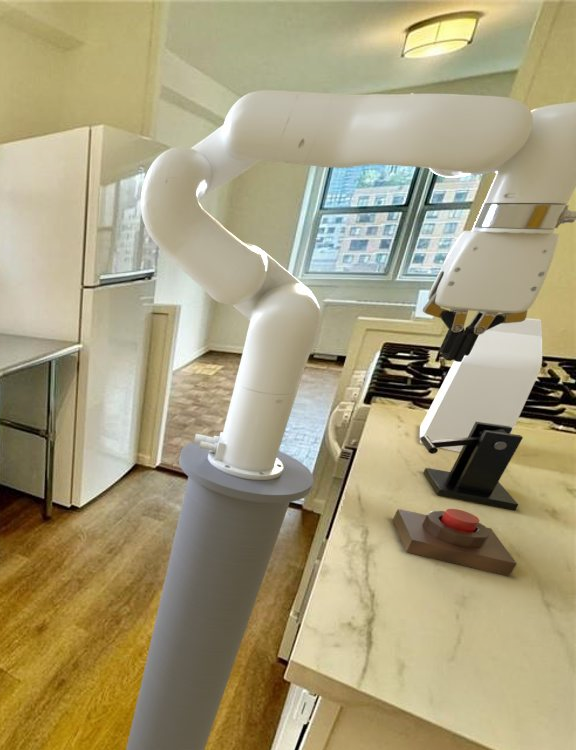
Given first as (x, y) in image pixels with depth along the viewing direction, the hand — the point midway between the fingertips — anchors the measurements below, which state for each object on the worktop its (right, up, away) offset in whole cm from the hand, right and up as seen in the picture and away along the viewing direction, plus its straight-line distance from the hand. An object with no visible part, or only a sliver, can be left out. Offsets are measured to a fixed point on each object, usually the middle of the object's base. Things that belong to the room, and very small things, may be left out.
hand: (450, 358), depth 70 cm
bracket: (+16, -21, +14) cm, 30 cm away
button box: (-1, -27, 0) cm, 28 cm away
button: (-1, -24, -2) cm, 24 cm away
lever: (+14, -13, +12) cm, 22 cm away
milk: (+33, -12, +32) cm, 47 cm away
